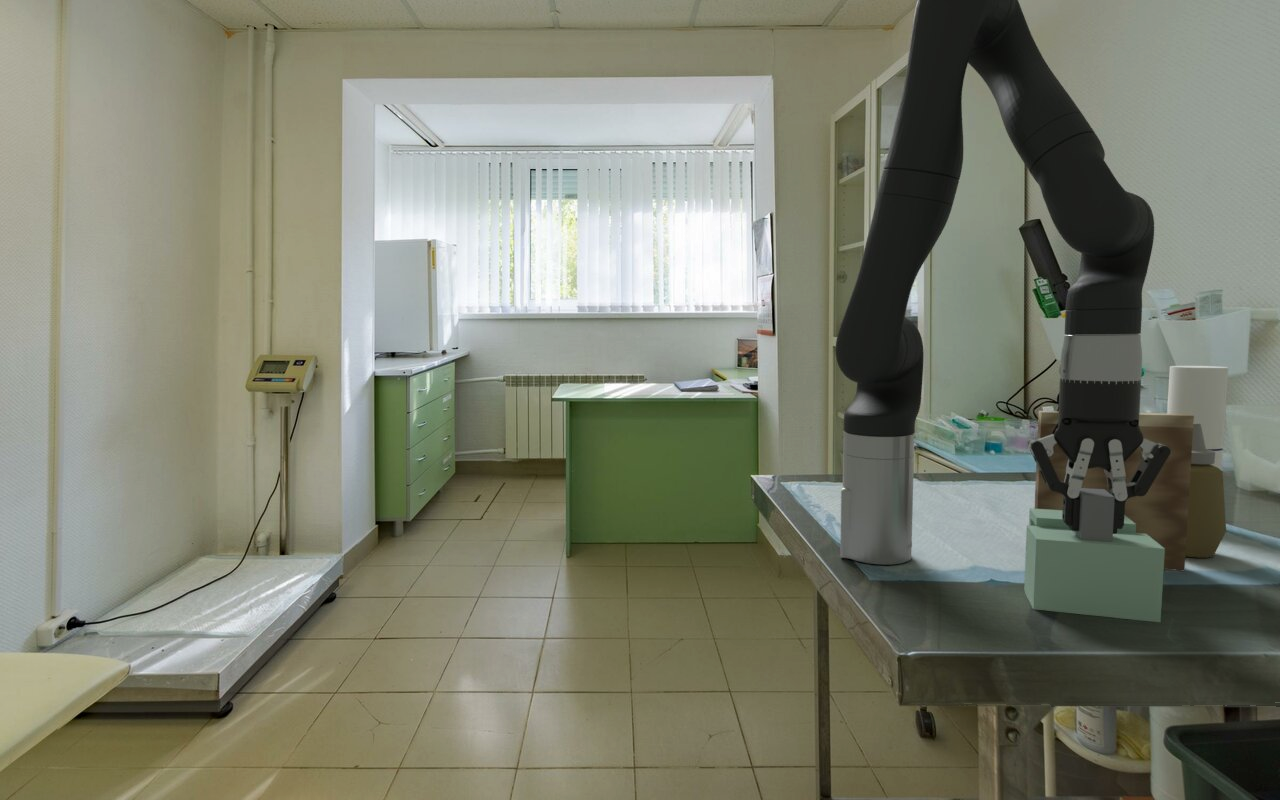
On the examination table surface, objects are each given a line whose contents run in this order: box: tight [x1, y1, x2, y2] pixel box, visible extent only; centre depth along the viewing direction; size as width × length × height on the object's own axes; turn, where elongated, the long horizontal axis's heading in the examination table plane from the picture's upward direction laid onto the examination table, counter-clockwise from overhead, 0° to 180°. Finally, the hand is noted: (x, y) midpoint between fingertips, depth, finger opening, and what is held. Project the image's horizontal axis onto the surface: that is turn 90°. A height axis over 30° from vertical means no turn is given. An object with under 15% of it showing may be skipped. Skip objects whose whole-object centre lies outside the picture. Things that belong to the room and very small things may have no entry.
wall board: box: [1034, 410, 1194, 571], centre depth 98 cm, size 17×7×20 cm, turn 71°
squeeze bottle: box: [1185, 423, 1227, 558], centre depth 99 cm, size 8×8×18 cm
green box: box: [1023, 488, 1165, 623], centre depth 83 cm, size 12×11×13 cm
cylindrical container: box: [1166, 365, 1229, 471], centre depth 112 cm, size 7×7×25 cm
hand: (1092, 529), depth 80 cm, fingers closed on green box, 3 cm apart
